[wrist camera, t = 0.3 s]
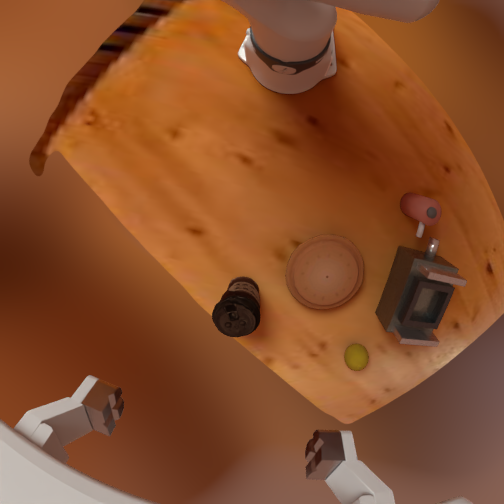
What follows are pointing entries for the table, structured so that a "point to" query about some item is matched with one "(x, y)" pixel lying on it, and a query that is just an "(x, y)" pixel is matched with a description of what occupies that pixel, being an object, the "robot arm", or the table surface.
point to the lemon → (356, 357)
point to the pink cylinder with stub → (421, 210)
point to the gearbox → (417, 294)
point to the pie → (324, 271)
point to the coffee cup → (238, 308)
